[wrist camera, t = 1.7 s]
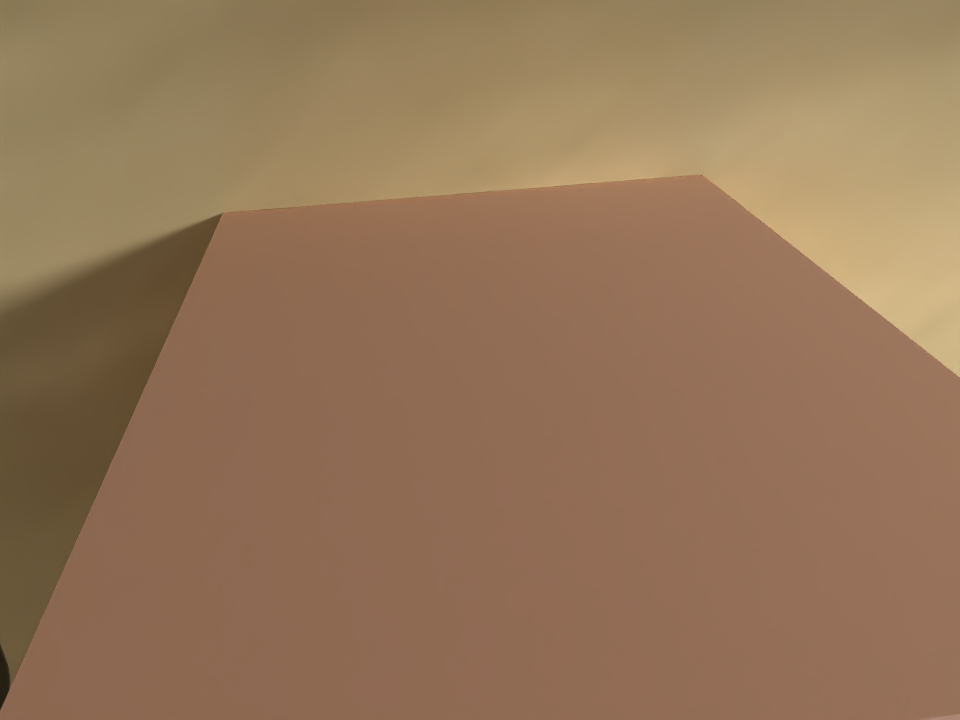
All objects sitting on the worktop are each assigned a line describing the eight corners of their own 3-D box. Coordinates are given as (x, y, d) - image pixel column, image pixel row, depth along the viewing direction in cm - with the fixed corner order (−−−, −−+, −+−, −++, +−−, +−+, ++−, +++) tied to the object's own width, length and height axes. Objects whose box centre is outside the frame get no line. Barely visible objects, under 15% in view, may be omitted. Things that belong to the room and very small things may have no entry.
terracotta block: (701, 173, 10) (1322, 665, 3) (677, 548, 12) (1023, 1252, 6) (223, 212, 9) (-65, 853, 3) (293, 592, 11) (213, 1405, 5)
